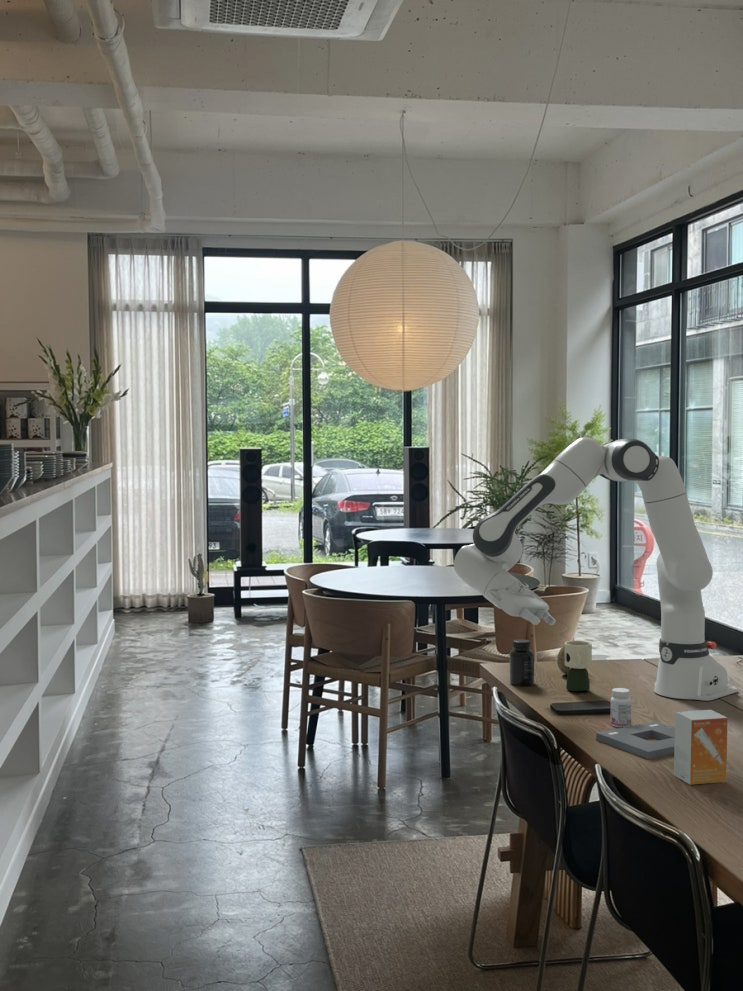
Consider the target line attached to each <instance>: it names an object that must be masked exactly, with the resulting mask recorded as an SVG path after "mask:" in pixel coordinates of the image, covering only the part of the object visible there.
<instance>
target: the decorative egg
mask: <svg viewBox="0 0 743 991" xmlns="http://www.w3.org/2000/svg"><path fill="white" fill-rule="evenodd" d="M556 658H557V660H556V663H557V666H558V669H559V671H561V673H563V674H564V675H566V676H568V671H569V669H570V667H567V666H565V643H564V644H563V645H562V646H561V647H560V649H559V651H558V654H557V656H556Z"/></svg>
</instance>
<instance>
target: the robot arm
mask: <svg viewBox="0 0 743 991" xmlns="http://www.w3.org/2000/svg"><path fill="white" fill-rule="evenodd" d="M599 476H600V477H601V478H604V479H606V480H609V481H612V482H623V483H625V482H630V481H634V482H635V483H636V484H637V485H638V487H639V489H640V491H641V495H642V501H643V503H644V508H645V511H646V515H647V519H648V523H649V527H650V530H651V534H653V535H652V536H653V537H654V540H655V542H656V545H657V547H658V550H659V554H658V555H657V559H656V570H657V584H658V592H659V593H658V594H659V601H660V611H661V612H660V614H661V616H660V638H659V642H658V651H659V652H658V653H659V655H660V657H659V658H658V663H657V664H658V666H657V671H656V672H657V673H656V681H655V682H654V685H653V686H654V689H653V692H654V693H656V694H658V695H660V696H663V697H667V698H672V699H678V700H698V701H713V700H716V699H719V698H723V697H726V696H729V695H732V694H735V693H738V688H737V686H734V685H732V684H729V677H728V671H727V669H726V667H724V666H723V664H721V663H720V662H718V660H716V659H715V658H713V656H711V655H710V654H711V653H710V650H712V651H714V650H717V649H716V648H717V645H718V644H717V643H716V642H715V641H709V640H708V641H707V642H706V640H705V631H706V630H705V628H706V627H705V626H706V622H705V621H706V611H705V608H704V603H703V598H702V590H703V589H705V588H706V587H707V586H709V584H710V583H711V581H712V579H713V574H714V572H713V567H712V564H711V561H710V560H709V557H708V555H707V551H706V549H705V546H704V543H703V540H702V538H701V536H700V533H699V531H698V529H697V526H696V523H695V520H694V517H693V513H692V508H691V505H690V502H689V498H688V494H687V490H686V487H685V484H684V481H683V477H682V476H681V473H680V470H679V468H678V467H677V465H676V463H675V461H674V460H673V459H672V458H671V457H669V456H665V455H657V454H656V453H655V452H654V451H653V450H652V449H651V447H650V446H649V445H648V444H647V443H645V442H644V441H642V440H640V439H637V438H620V439H616V440H614V441H610V442H609V441H608V442H606V443H603V444H600V442H598V441H597V440H595V439H594V438H591V437H588V436H582V437H579V438H577V439H576V440H574V441H573V442H572V443H570V444H569V445H568V446H567V447H565V448H564V449H563V450H562V451H561V452H560V453H559V454H558V455H557V456H556V457H555V458H554V459H553V460H552V461H551V462H550V463H549V464H548V465H547V467H545V469H543V470H542V471H541V472H540V473H539V474H537V475H536V476H535V477H534V478H532V479H531V480H530V481H528V482H527V483H526V484H525V485H523V486H522V488H520V489H519V490H517V492H516V493H515V494H514V495H512V496H511V498H509V499H508V501H506V502H505V503H504V504H503V505H502V506H500V507H499V508H498V509H497V510H495V511H494V512H493V513H490V514H488V515H486V516H485V517H484V516H483V518H481V519H480V520H479V521H478V522H477V523H476V525H475V526H474V529H473V531H472V532H473V533H472V542H473V543H472V544H469V545H468V544H467V545H463V546H461V548H459V550H458V551H457V552H456V555H455V556H454V561H453V568H454V572H455V573H456V575H457V576H458V577H459V578H460V579H461V580H462V581H463V582H465V583H466V584H467V585H468V586H469V587H470V588H471V589H474V590H476V591H478V592H480V593H481V595H482V596H483V597H484V599H486V600H487V601H488V602H490V603H491V604H492V605H494V606H495V607H496V608H497V609H500V610H502V611H503V612H505V613H506V614H507V615H509V616H511V617H516V618H517V617H519V618H522V619H524V620H526V621H527V622H529V623H531V624H532V625H534V626H538V625H539V624H540V622H541V619H542V620H543V621H544V622H545V623H546V624H547V625H548V626H554V625H555V624H556V621H557V620H556V619H555V618H554V617H553V616H552V615H551V614H550V613H549V610H550V606H549V605H548V603H547V602H545V600H544V599H542V598H541V597H540V596H539V595H538V594H536V593H535V592H534V591H533V590H531V589H529V588H530V586H529V585H528V584H527V583H526V582H524V581H522V580H520V579H519V578H517V577H515V576H513V575H512V574H511V573H510V570H511V569H512V568H514V567H515V565H517V564H518V563H519V562H520V560H521V559H522V557H523V554H524V546H523V543H522V541H521V540H520V538H519V535H518V534H516V530H517V528H519V526H520V525H521V524H522V523H523V522H524V521H525V520H526V519H527V518H528V517H529V516H530V515H531V514H532V513H533V512H535V511H536V510H537V509H538V508H539V507H541V506H543V505H546V504H551V505H554V506H555V505H557V506H565V505H568V504H570V503H571V502H573V501H574V500H575V499H576V498H578V497H579V496H580V495H581V494H582V493H583V491H584V490H585V489H587V487H589V485H590V484H591V482H592V481H593V480H594V479H596V478H597V477H599Z"/></svg>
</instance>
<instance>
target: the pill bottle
mask: <svg viewBox="0 0 743 991" xmlns="http://www.w3.org/2000/svg"><path fill="white" fill-rule="evenodd" d="M611 695H612V697H611V698H610V710H609V712H610V720H609V721H610V725H611V726H612V727H615V728H622V727H629V726H632V699H631V698H630V695H631V693H630V690H629V689H628V688H624V687H615V688H612V690H611Z"/></svg>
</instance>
